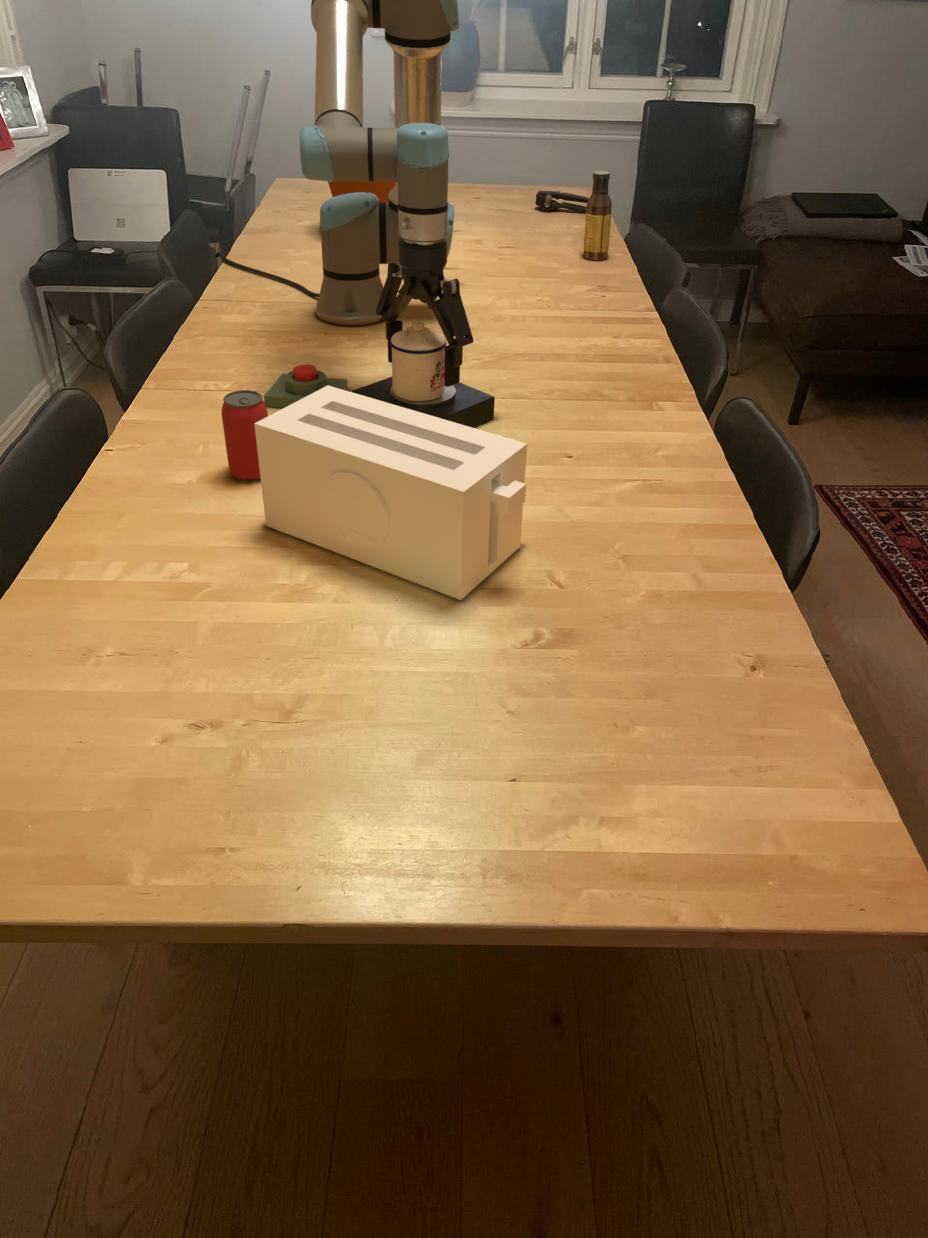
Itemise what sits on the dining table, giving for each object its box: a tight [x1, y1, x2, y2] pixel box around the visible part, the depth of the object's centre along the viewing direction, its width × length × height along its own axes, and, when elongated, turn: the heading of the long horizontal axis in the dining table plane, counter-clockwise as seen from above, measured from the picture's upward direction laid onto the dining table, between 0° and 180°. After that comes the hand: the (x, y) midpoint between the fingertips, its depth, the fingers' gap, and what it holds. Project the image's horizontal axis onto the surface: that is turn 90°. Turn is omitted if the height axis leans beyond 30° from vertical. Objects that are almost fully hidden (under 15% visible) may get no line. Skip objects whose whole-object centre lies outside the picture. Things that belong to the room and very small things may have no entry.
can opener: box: [534, 189, 590, 214], centre depth 276 cm, size 18×7×6 cm, turn 80°
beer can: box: [220, 389, 269, 481], centre depth 142 cm, size 7×7×12 cm
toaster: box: [254, 386, 528, 601], centre depth 126 cm, size 35×16×15 cm, turn 58°
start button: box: [292, 364, 318, 382], centre depth 165 cm, size 4×4×2 cm
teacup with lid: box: [390, 320, 447, 401], centre depth 158 cm, size 12×9×12 cm
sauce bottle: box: [583, 170, 613, 261], centre depth 235 cm, size 6×6×20 cm
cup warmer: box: [351, 376, 496, 428], centre depth 162 cm, size 18×16×5 cm
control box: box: [263, 369, 349, 409], centre depth 167 cm, size 12×10×4 cm
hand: (423, 372), depth 159 cm, fingers open, 13 cm apart
